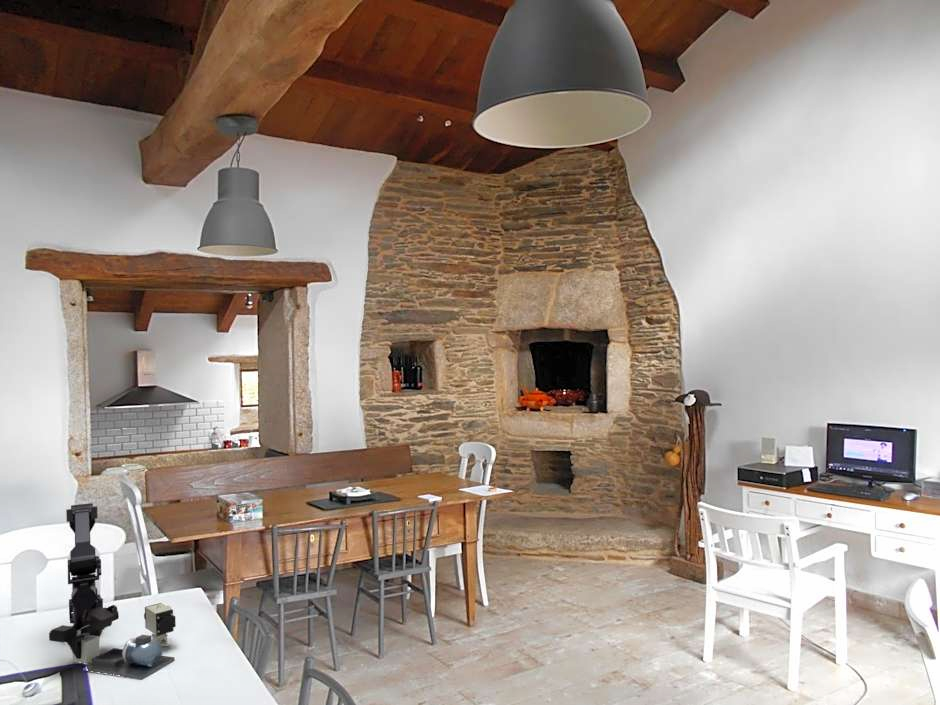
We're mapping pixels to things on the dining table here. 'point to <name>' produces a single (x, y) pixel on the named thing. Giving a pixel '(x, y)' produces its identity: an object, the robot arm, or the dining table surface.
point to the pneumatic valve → (159, 622)
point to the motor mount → (132, 659)
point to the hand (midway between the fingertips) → (86, 655)
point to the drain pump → (88, 648)
